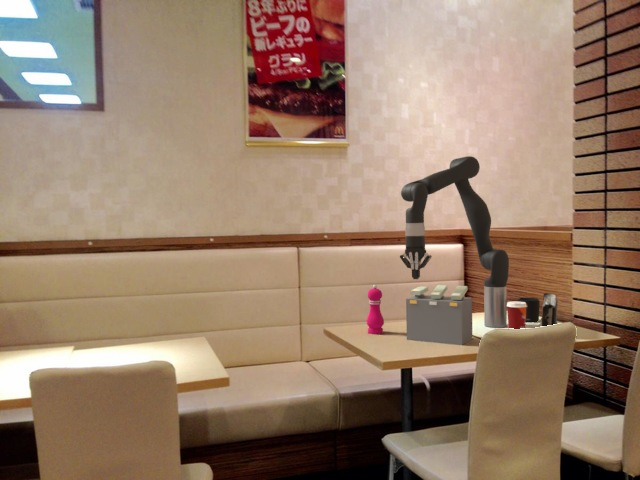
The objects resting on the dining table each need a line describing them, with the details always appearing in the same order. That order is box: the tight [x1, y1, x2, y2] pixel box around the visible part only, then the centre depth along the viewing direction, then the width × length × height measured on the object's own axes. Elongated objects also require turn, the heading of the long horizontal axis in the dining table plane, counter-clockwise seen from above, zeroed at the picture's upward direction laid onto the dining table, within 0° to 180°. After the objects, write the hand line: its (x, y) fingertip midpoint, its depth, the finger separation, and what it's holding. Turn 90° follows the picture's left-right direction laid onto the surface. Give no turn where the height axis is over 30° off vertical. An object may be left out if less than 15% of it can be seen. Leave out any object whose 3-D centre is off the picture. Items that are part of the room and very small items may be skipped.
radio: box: [539, 292, 558, 327], centre depth 233 cm, size 23×9×15 cm, turn 149°
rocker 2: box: [429, 284, 448, 299], centre depth 224 cm, size 9×4×2 cm, turn 149°
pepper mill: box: [366, 284, 385, 335], centre depth 240 cm, size 7×7×20 cm
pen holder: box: [517, 297, 541, 323], centre depth 260 cm, size 9×9×10 cm
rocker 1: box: [410, 285, 429, 296], centre depth 229 cm, size 9×4×2 cm, turn 148°
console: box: [405, 293, 473, 346], centre depth 225 cm, size 13×22×17 cm, turn 58°
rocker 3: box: [449, 285, 468, 300], centre depth 220 cm, size 9×4×2 cm, turn 148°
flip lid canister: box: [506, 301, 527, 329], centre depth 223 cm, size 8×8×14 cm
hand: (415, 279), depth 225 cm, fingers closed
